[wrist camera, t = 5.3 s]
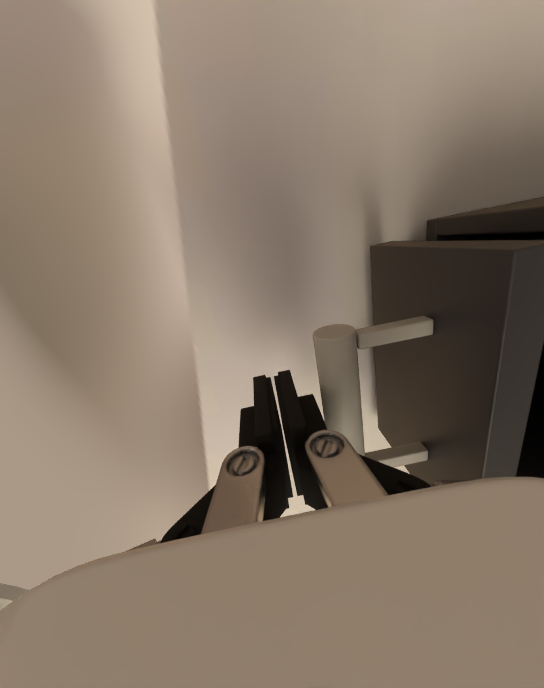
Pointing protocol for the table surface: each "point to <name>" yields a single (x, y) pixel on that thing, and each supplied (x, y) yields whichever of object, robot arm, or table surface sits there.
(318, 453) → the robot arm
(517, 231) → the dark grey cabinet
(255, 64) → the table surface
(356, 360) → the drawer
